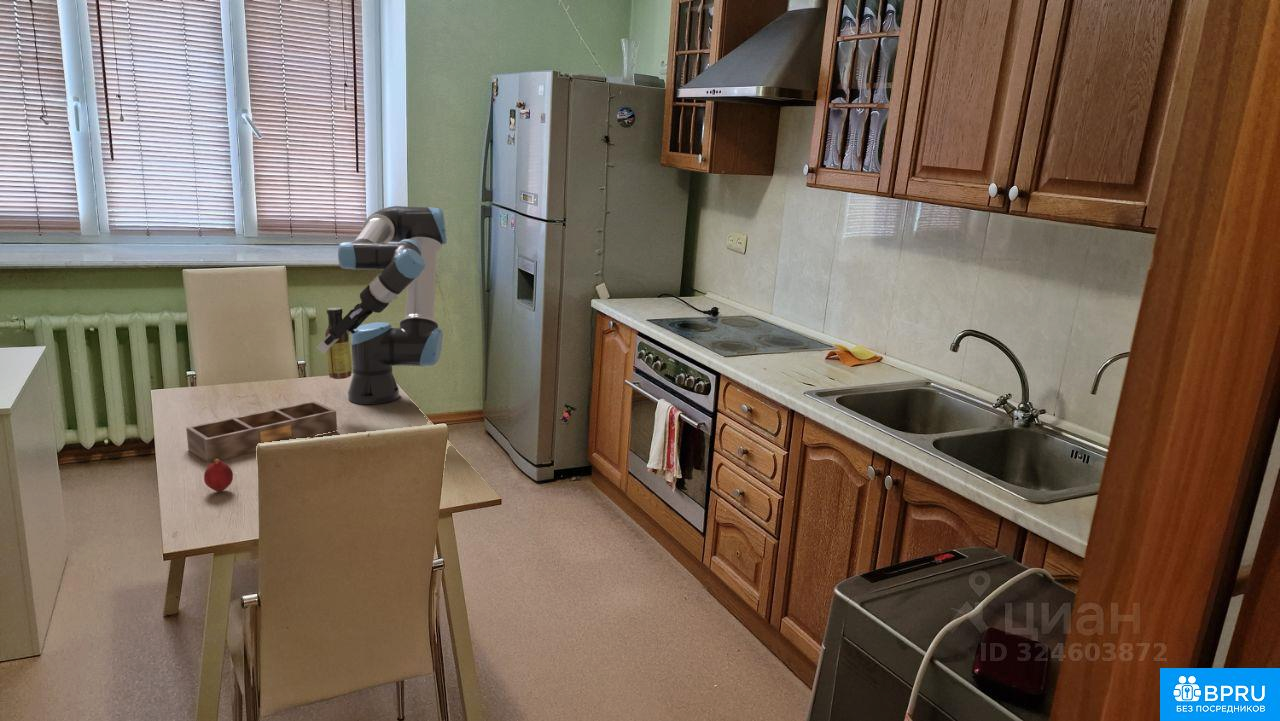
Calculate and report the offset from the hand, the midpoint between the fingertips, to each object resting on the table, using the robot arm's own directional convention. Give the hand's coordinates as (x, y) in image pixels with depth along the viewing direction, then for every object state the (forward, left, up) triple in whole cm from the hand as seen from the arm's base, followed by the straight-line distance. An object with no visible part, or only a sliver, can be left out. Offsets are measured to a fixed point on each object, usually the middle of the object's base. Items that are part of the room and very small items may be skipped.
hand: (326, 347), depth 233 cm
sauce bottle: (-2, +3, -9) cm, 9 cm away
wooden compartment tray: (+22, +7, -21) cm, 31 cm away
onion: (+44, +32, -21) cm, 58 cm away
